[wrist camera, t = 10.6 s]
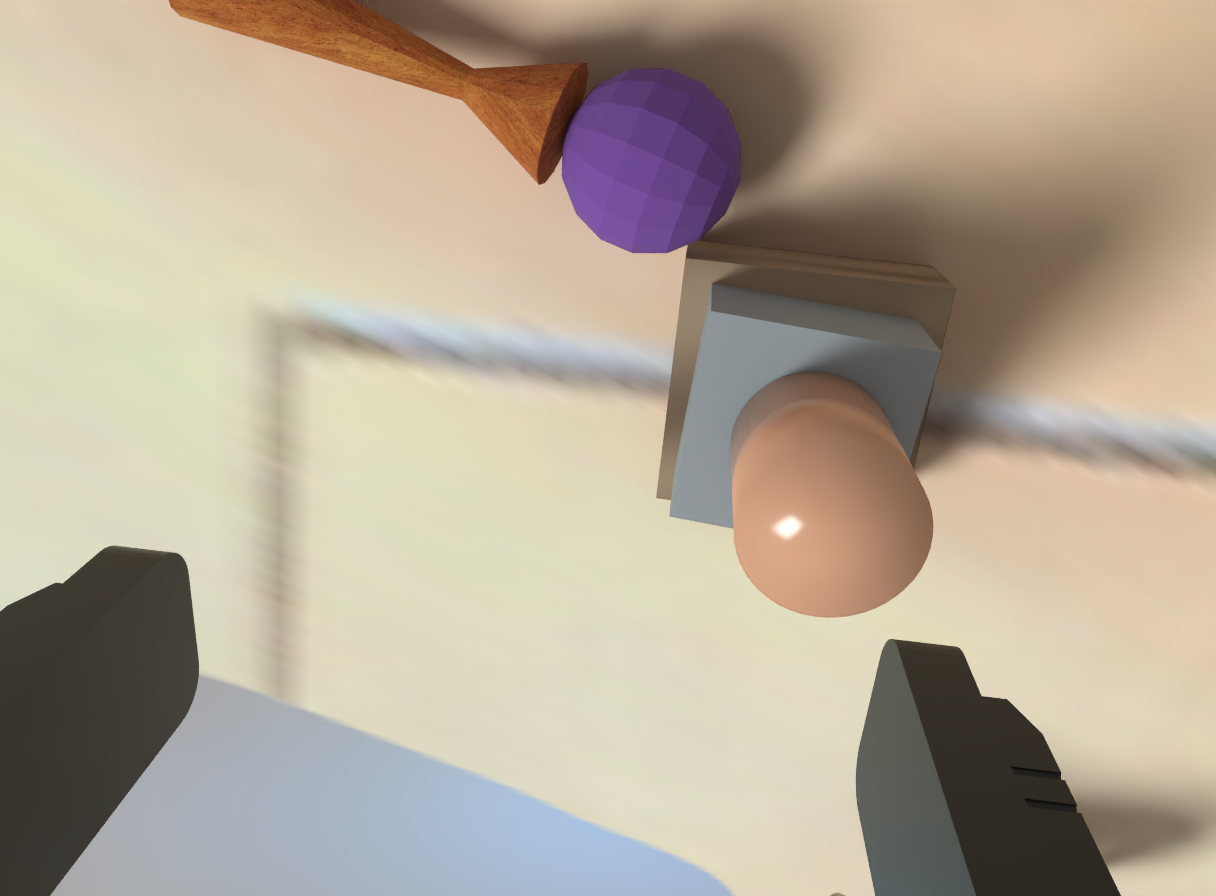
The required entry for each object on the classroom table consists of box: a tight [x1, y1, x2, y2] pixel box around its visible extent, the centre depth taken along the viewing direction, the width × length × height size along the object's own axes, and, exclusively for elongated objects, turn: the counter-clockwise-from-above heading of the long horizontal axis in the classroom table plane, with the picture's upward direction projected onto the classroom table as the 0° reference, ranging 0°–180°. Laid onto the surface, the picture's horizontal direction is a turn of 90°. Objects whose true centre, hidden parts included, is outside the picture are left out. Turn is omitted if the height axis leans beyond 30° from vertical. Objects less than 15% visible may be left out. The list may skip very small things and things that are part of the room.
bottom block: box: [656, 240, 956, 500], centre depth 35 cm, size 9×9×4 cm
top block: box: [669, 283, 942, 529], centre depth 32 cm, size 7×7×4 cm
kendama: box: [169, 0, 741, 253], centre depth 32 cm, size 6×6×20 cm
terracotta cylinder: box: [730, 371, 933, 618], centre depth 27 cm, size 5×5×6 cm
